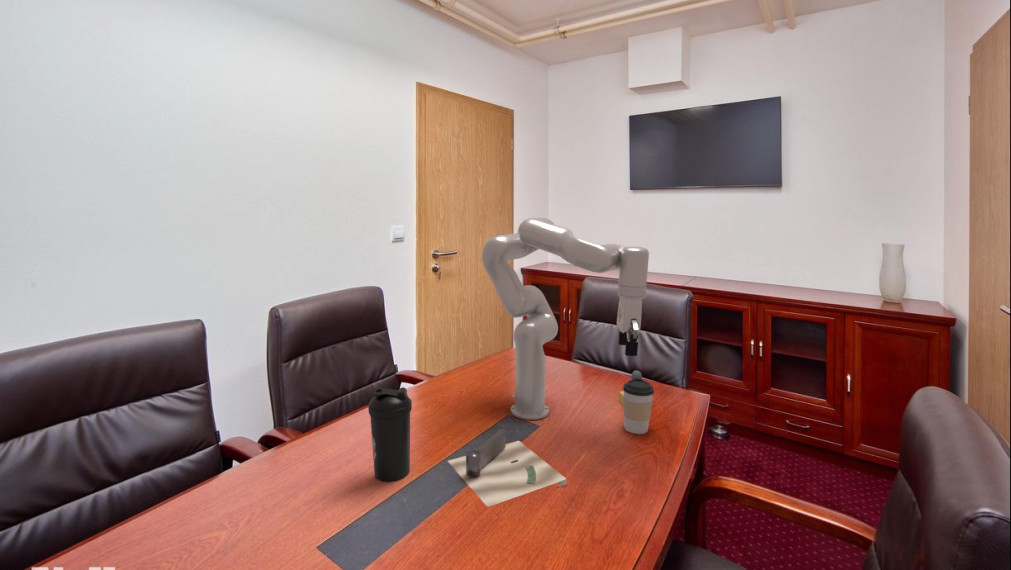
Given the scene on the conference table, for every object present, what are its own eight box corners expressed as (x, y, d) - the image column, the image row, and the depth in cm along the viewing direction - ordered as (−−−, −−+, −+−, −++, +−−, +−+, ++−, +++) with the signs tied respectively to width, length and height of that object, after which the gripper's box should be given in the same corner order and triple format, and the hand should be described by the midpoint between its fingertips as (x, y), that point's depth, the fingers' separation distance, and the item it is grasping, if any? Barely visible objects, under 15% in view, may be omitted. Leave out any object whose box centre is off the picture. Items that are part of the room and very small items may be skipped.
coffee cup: (652, 437, 140) (656, 389, 137) (621, 434, 142) (624, 386, 139) (649, 423, 149) (652, 378, 146) (620, 420, 150) (622, 376, 148)
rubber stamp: (625, 407, 161) (626, 374, 159) (618, 401, 166) (620, 368, 164) (652, 406, 162) (654, 372, 160) (644, 399, 168) (646, 367, 166)
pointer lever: (475, 478, 114) (475, 459, 113) (463, 474, 116) (463, 455, 115) (509, 448, 129) (509, 431, 128) (497, 444, 130) (497, 427, 130)
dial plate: (447, 466, 123) (447, 460, 123) (518, 445, 134) (518, 439, 134) (487, 513, 105) (487, 506, 104) (566, 484, 116) (566, 478, 115)
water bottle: (375, 467, 122) (372, 382, 119) (415, 465, 123) (413, 382, 119) (367, 490, 112) (363, 399, 109) (410, 488, 113) (408, 398, 109)
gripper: (612, 285, 140) (609, 340, 143) (624, 296, 123) (619, 359, 126) (638, 286, 140) (634, 341, 143) (653, 298, 123) (648, 360, 126)
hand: (627, 350), depth 135 cm, fingers open, 9 cm apart
